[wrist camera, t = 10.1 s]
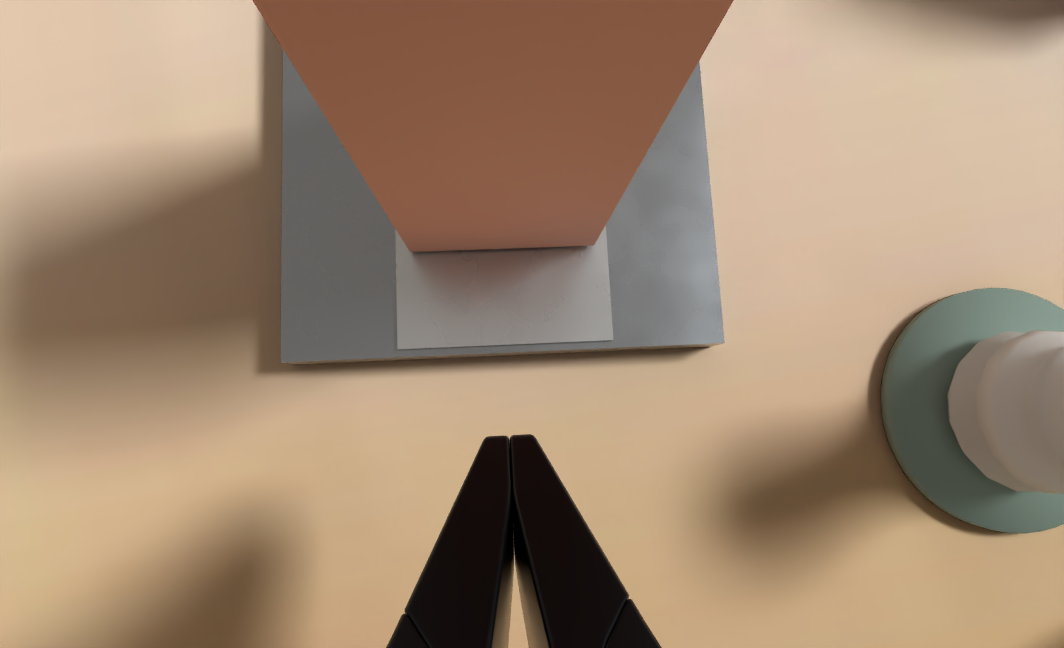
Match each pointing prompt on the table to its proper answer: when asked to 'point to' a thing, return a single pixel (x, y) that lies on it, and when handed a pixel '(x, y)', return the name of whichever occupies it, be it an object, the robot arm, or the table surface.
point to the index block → (495, 105)
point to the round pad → (922, 407)
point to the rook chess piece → (1013, 409)
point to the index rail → (492, 261)
